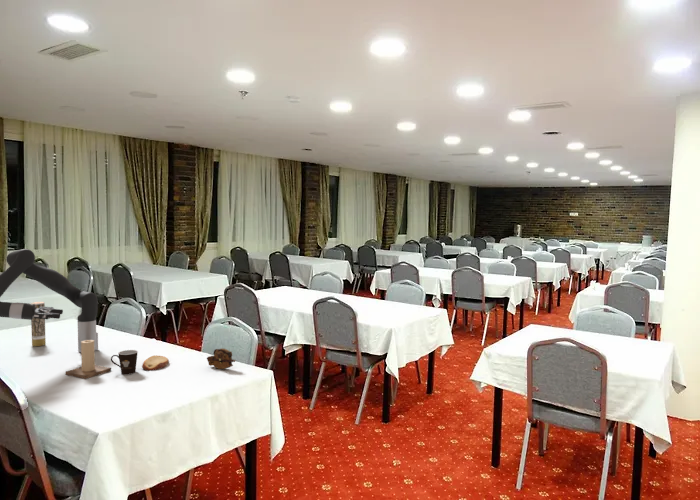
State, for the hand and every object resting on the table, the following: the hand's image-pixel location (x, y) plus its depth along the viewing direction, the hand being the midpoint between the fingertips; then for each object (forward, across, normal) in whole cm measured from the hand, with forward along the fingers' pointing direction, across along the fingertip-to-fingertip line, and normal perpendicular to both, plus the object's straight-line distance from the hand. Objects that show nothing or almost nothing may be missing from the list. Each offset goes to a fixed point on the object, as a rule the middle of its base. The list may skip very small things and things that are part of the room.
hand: (61, 314), depth 247 cm
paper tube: (-15, +61, +36) cm, 72 cm away
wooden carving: (+76, -21, +16) cm, 80 cm away
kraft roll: (+15, -6, +25) cm, 30 cm away
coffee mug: (+32, -11, +24) cm, 42 cm away
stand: (+16, -6, +26) cm, 31 cm away
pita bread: (+46, -2, +23) cm, 51 cm away
